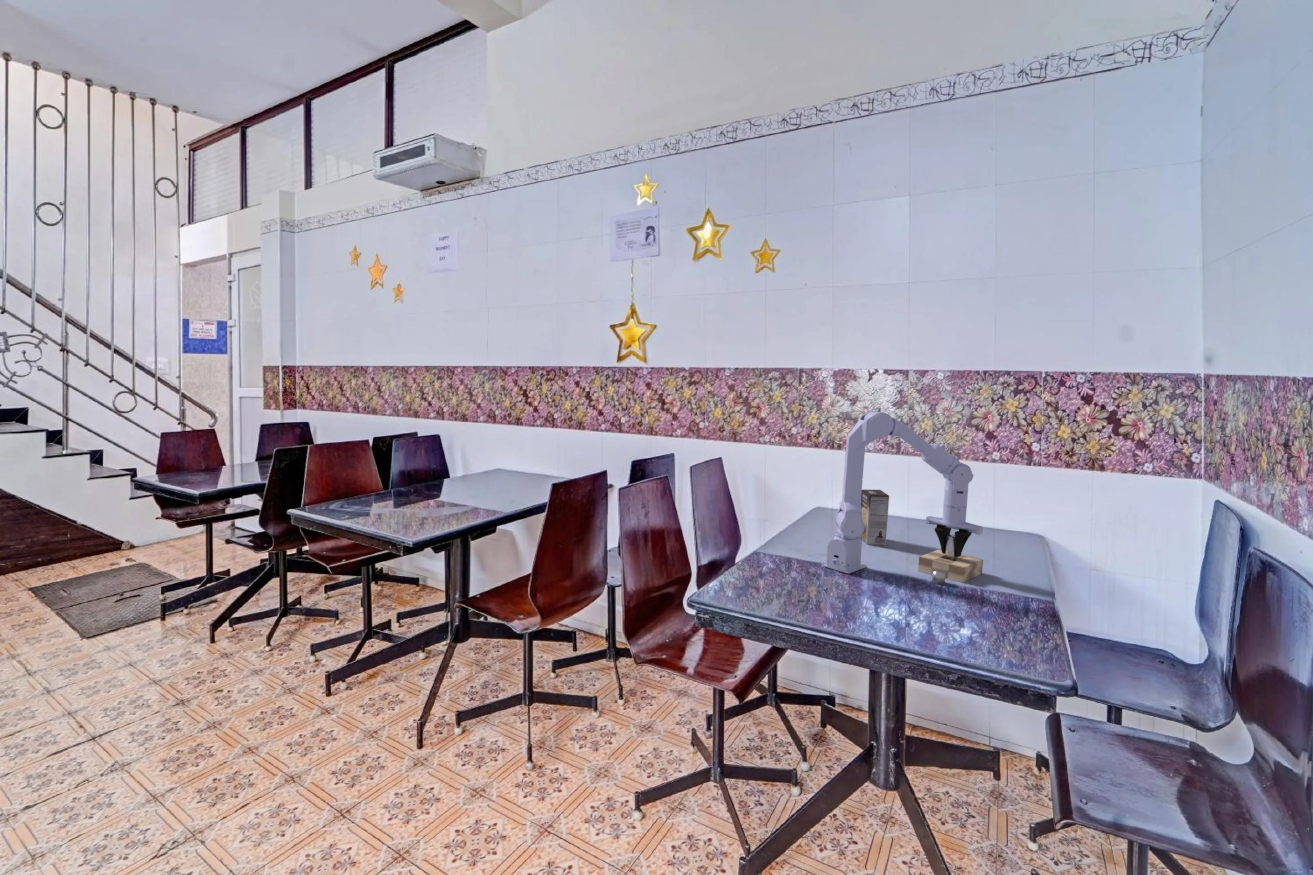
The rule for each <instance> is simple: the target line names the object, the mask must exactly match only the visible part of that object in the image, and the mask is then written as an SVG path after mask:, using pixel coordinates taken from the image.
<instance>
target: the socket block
mask: <svg viewBox="0 0 1313 875" xmlns="http://www.w3.org/2000/svg"><path fill="white" fill-rule="evenodd" d="M983 565H984V559H982V558H979V557H975V556H971V555H966V554H962V553H961V556H959V557H957V561H956V562H955V561H951V560H947V559H945V554H943V553H942V550H941V548H939V549H936V550H934V551H930V552H927V553H925V554H923V555H920V556H918V568H917V571H918V572H920V573H921V572H922V573H924V572H925V574H929V575H932V574H933V570H942V571H944V572H945V579H947V580H950V579H951V581H954V582H958V583H961V584H962V583H966V582H967V581H969V579H970V580H971V579H974V578H976V577H978V576H980V575H982V574H983V567H984V566H983Z"/></svg>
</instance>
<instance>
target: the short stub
mask: <svg viewBox="0 0 1313 875" xmlns="http://www.w3.org/2000/svg"><path fill="white" fill-rule="evenodd" d="M931 575H932V574H931ZM931 577H932V578H931V583H933V584H935V585H940V586H941V585H946V584H945V582H946V578H945V572H944V571H942V570H933V575H932V576H931Z"/></svg>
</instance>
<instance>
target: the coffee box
mask: <svg viewBox="0 0 1313 875" xmlns="http://www.w3.org/2000/svg"><path fill="white" fill-rule="evenodd" d="M889 502H890V495H889V494H887V493H886V492H884V491H883V490H881V489H862V493H861V509H862V520H863V522H864V526H865V527H864V531H863V533H862V542H864V544H866V545H868V546H869V545H871V546H872V545H874V546H875V545H876V546H886V544H887V533H888V532H887V531H888V516H889V506H890V504H889Z"/></svg>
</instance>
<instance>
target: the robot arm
mask: <svg viewBox="0 0 1313 875" xmlns="http://www.w3.org/2000/svg"><path fill="white" fill-rule="evenodd" d="M887 435H888V436H891V437H898V438H899V439H901V440H902V441H904V442H905V443H907V444H908V445H910V446H911V447H912V448H914V449H915V450H917V451H918V452H919V453H921V459H922V461H923V462H925V463H926V464H927V465H929V466H930V467H931V468H932V469H934V470H936V471H937V472H938V473H939V474H941V475H942V476H943V478H944V479H945V483H944V485H945V486H944V495H943V506H942V507H943V508H942V517H938V516H931V515H929V516H926V518H925V524H926V525H934V526H935V528H934V532H935V534H936V536H937V538H938V541H939V545H940V549H941V550H942V553H943V554H945V548H946V535H948V534H951V531H952V529H954V530H957V531H954V535H955V540H956V547H955V557H959V556H961V554H962V552H963V550H964V547H965V545H966V543H967V541H968V540H969V538H970V537H971V536H972V534H976V535H982V534H983V532H984V526H981V525H977V524H974V523H970V522H967V507H968V498H969V497H968V495H969V484H970V483H971V482H972V480H973V478H974V474H973V471H972V469H971V467H970V466H969V465H968V464H966V463H963V462H961V461H960V459H961V458H960V457H959V456H957V455H953V454H952V453H950V452H949V451H947V446H944V444H941V443H940V444H938V443H928V442H927V441H926V440H925V439H924V438H923V437H922V436H920V435H919V434H917V433H916V432H915V431H914V430H912V429H911V428H910V427H909V426H908V425H906V424H905V423H904V422H902V421H900V420H898V419H897V418H895V417H892V416H891V415H890V414H889V413H886V412H882V411H881V412H880V411H879V410H870V411H867V412H865V413H864V414H862V415H861V416H860V417H859V418H858V420H857V422H856V424H855V425H854V426H853V428H852V429H851V430H850V432H849V433H848V435H847V437H846V442H845V443H846V444H845V457H844V467H843V468H844V471H843V483H842V495H841V496H842V497H841V500H840V503H839V506H838V511H837V512H836V514H835V518H834V523H835V525H836V526H837V528H836V530H835V533H834V537H833V538H832V539H831V540H830V541H829V542H828V544H827V546H826V547H827V549H826V551H827V552H826V553H827V554H826V563H824V564H823V567H824V568H825V567H826V568H828V569H832V570H835V571H837V572H841V573H845V574H852V573H854V572H857V571H860V570H863V569H865V568H867V567H868V565H867V564H864V563H862V549H863V548H862V546H863V545H862V544H863V540H862V533H863V531H864V527H865V526H864V522H863V520H862V509H861V493H862V490H863V481H864V480H863V478H864V465H865V455H866V454H865V453H866V447H867V445H869V444H871V443H872V442H874V441H875V440H877V439H880V438H883V437H886V436H887Z"/></svg>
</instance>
